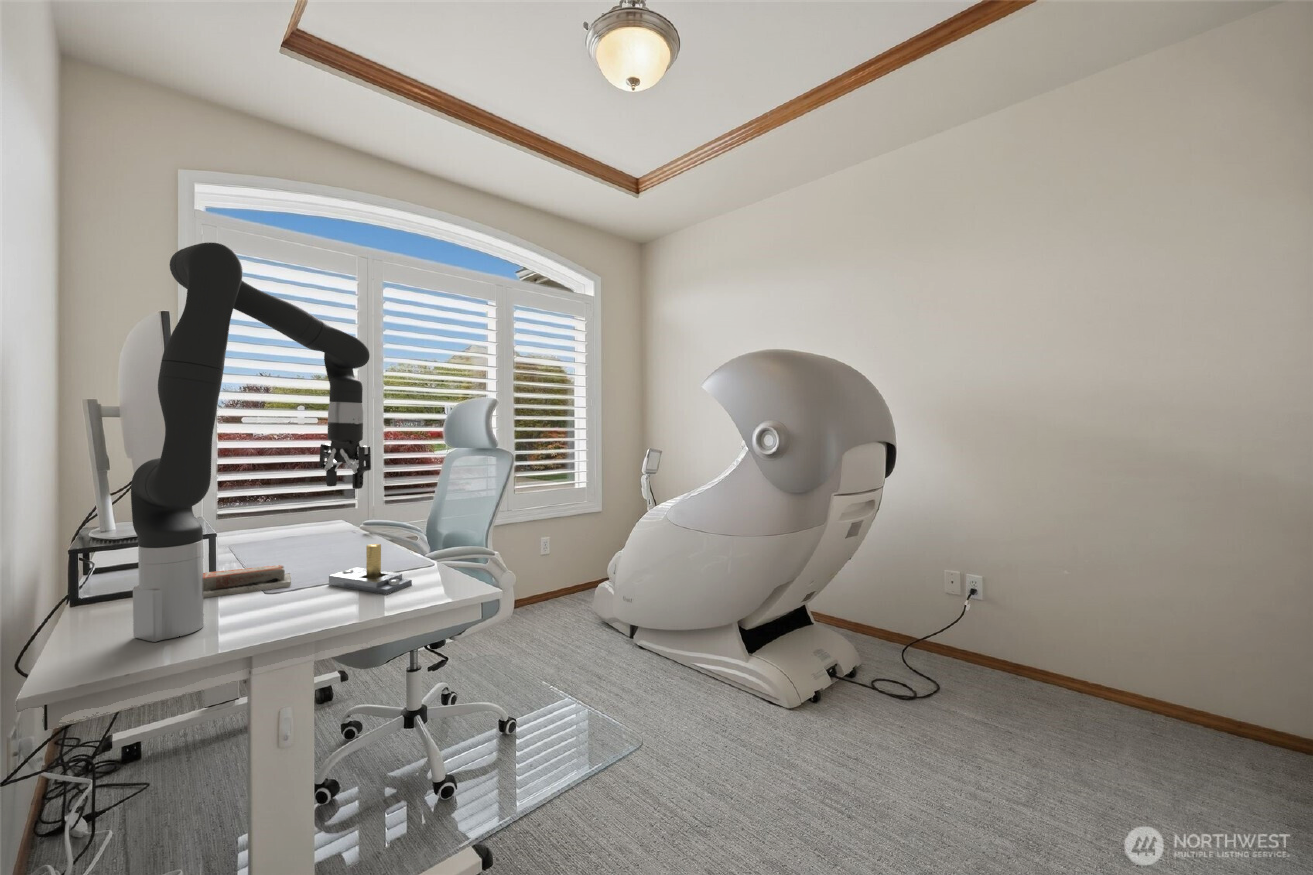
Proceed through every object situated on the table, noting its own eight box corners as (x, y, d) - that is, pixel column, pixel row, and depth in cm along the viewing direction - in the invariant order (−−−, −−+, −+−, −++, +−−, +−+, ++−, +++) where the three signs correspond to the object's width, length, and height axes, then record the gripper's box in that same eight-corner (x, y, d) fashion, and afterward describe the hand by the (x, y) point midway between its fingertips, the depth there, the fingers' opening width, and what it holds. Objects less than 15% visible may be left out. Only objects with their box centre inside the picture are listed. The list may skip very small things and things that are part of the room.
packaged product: (194, 580, 122) (199, 569, 131) (195, 601, 123) (200, 589, 131) (291, 568, 133) (290, 559, 141) (291, 588, 133) (290, 577, 141)
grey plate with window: (386, 594, 128) (386, 583, 128) (328, 585, 134) (328, 574, 134) (411, 584, 136) (411, 574, 136) (356, 576, 142) (356, 566, 142)
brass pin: (373, 588, 133) (373, 547, 132) (363, 586, 134) (363, 546, 133) (383, 584, 136) (384, 544, 135) (373, 582, 137) (374, 543, 136)
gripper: (310, 420, 132) (309, 486, 133) (354, 421, 127) (352, 491, 128) (337, 420, 139) (336, 484, 140) (380, 422, 134) (379, 487, 135)
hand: (344, 487), depth 134 cm, fingers open, 8 cm apart
